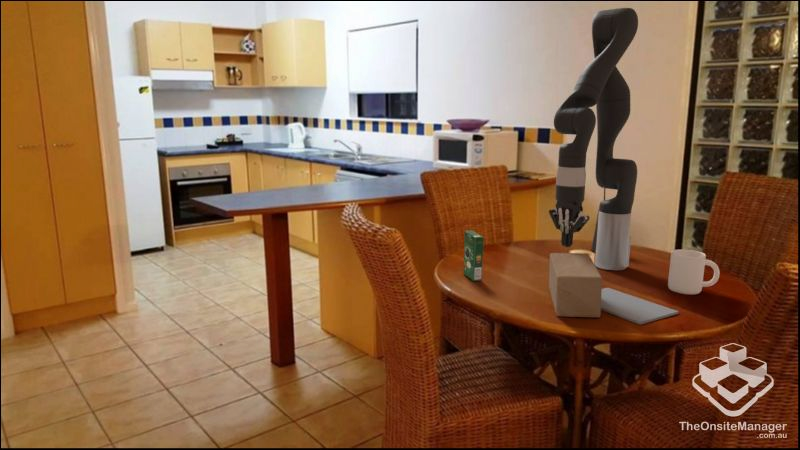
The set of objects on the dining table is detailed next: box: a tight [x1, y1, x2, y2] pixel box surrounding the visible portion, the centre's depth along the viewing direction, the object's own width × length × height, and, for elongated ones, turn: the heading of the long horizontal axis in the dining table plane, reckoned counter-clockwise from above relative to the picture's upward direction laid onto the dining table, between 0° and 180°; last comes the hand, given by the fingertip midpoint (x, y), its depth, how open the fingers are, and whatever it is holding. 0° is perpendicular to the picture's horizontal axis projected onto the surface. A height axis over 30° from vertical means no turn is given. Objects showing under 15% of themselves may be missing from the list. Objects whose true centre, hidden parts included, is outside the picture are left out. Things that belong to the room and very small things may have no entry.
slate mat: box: [601, 287, 680, 325], centre depth 143 cm, size 14×21×1 cm, turn 30°
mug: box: [667, 249, 721, 295], centre depth 153 cm, size 12×8×10 cm
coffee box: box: [462, 230, 485, 282], centre depth 164 cm, size 8×3×13 cm, turn 16°
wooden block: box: [548, 252, 603, 318], centre depth 143 cm, size 10×10×20 cm
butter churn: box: [590, 188, 607, 253], centre depth 192 cm, size 9×10×28 cm
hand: (566, 246), depth 157 cm, fingers closed
